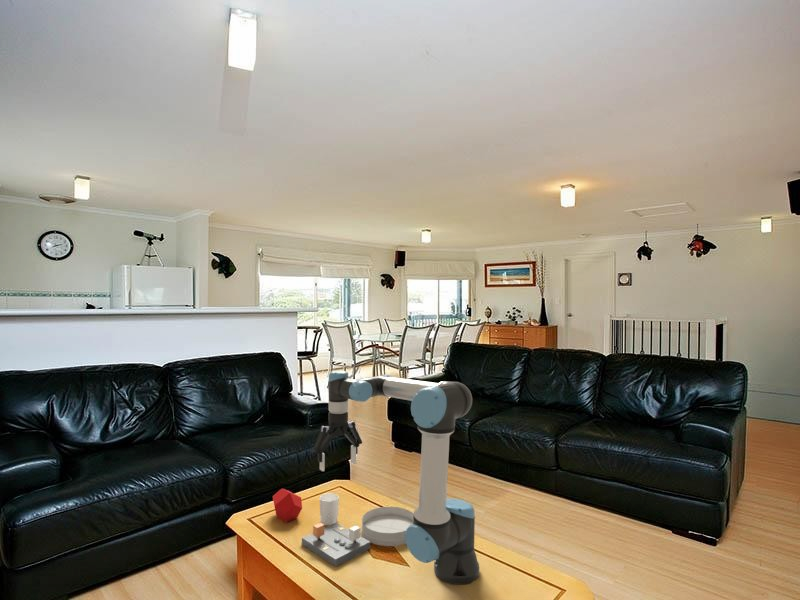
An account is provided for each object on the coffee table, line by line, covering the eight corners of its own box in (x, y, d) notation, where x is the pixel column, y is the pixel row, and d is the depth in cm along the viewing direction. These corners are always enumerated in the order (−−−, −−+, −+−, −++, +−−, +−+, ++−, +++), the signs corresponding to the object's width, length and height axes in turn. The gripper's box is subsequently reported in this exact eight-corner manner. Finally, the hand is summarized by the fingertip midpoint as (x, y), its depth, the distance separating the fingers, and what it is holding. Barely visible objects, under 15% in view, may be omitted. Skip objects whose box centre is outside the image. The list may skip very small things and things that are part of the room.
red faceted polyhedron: (277, 531, 185) (262, 506, 196) (304, 523, 193) (288, 500, 204) (284, 506, 183) (268, 482, 193) (310, 499, 191) (294, 477, 201)
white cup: (340, 517, 193) (340, 493, 193) (336, 526, 185) (336, 501, 185) (322, 516, 194) (322, 492, 194) (316, 525, 186) (317, 500, 186)
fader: (324, 537, 172) (324, 524, 171) (317, 541, 169) (317, 527, 169) (320, 535, 173) (320, 522, 173) (313, 538, 171) (313, 525, 171)
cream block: (360, 540, 170) (360, 527, 170) (353, 544, 167) (353, 530, 167) (355, 538, 171) (356, 525, 171) (349, 541, 169) (349, 528, 169)
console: (370, 548, 170) (370, 540, 169) (335, 566, 158) (335, 557, 158) (335, 529, 183) (335, 521, 183) (301, 544, 172) (301, 536, 172)
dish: (351, 540, 176) (352, 527, 175) (373, 514, 196) (373, 503, 196) (407, 551, 168) (407, 537, 168) (424, 523, 189) (424, 511, 189)
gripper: (361, 405, 189) (360, 457, 189) (304, 414, 174) (303, 470, 174) (370, 408, 183) (370, 462, 183) (312, 418, 168) (312, 476, 168)
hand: (338, 466), depth 178 cm, fingers open, 13 cm apart
